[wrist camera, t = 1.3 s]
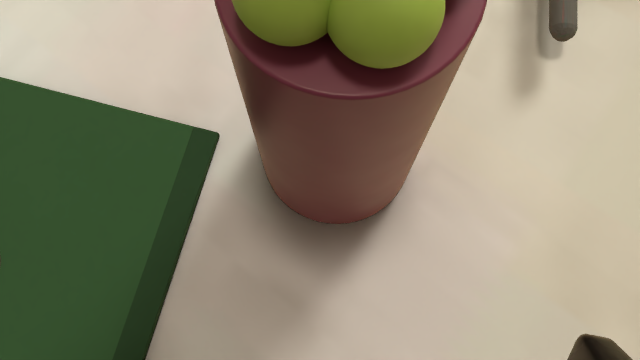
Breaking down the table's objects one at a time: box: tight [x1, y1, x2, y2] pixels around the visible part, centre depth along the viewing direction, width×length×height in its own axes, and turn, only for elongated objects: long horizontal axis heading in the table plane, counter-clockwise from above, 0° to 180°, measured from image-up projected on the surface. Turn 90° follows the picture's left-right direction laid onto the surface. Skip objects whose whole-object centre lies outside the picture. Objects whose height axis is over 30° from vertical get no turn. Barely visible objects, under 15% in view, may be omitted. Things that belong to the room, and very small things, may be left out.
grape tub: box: [215, 0, 487, 224], centre depth 16 cm, size 6×6×14 cm
